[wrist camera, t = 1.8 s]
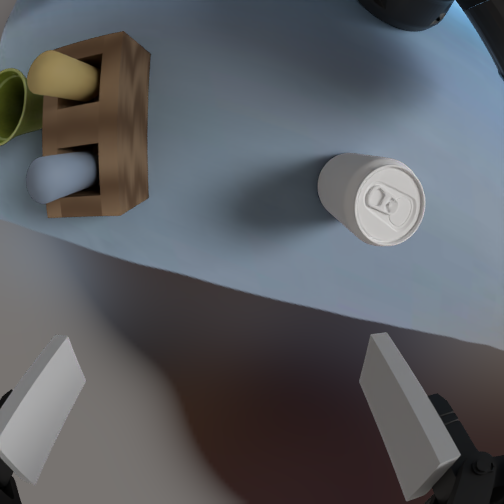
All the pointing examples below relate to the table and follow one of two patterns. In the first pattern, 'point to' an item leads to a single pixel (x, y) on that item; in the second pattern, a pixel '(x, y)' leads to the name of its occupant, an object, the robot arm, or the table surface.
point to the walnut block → (104, 127)
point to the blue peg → (61, 175)
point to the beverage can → (372, 197)
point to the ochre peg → (63, 77)
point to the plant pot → (18, 106)
